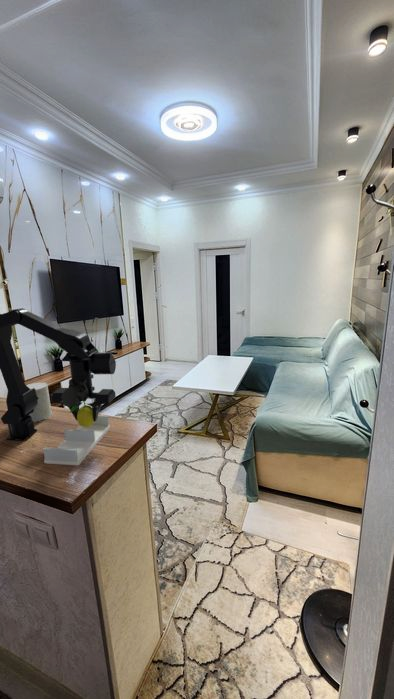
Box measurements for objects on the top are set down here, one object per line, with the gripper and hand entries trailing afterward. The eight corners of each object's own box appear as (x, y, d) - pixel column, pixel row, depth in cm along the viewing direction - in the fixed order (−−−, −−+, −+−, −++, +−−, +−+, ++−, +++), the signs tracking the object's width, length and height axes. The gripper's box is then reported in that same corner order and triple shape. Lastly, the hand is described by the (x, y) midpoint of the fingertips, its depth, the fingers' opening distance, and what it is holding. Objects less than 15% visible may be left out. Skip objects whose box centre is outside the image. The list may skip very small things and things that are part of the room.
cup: (41, 422, 104) (36, 391, 101) (22, 421, 105) (16, 389, 102) (56, 412, 111) (52, 383, 109) (38, 411, 113) (33, 382, 110)
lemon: (72, 432, 91) (68, 402, 89) (81, 423, 97) (77, 395, 94) (93, 432, 91) (89, 402, 88) (100, 423, 96) (97, 395, 94)
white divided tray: (44, 463, 80) (42, 448, 79) (82, 426, 100) (81, 414, 99) (78, 465, 79) (76, 450, 78) (110, 427, 99) (109, 415, 98)
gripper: (35, 382, 83) (43, 432, 87) (97, 384, 81) (103, 435, 84) (58, 370, 94) (64, 415, 97) (114, 371, 91) (118, 417, 95)
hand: (86, 420), depth 93 cm, fingers closed on lemon, 5 cm apart
